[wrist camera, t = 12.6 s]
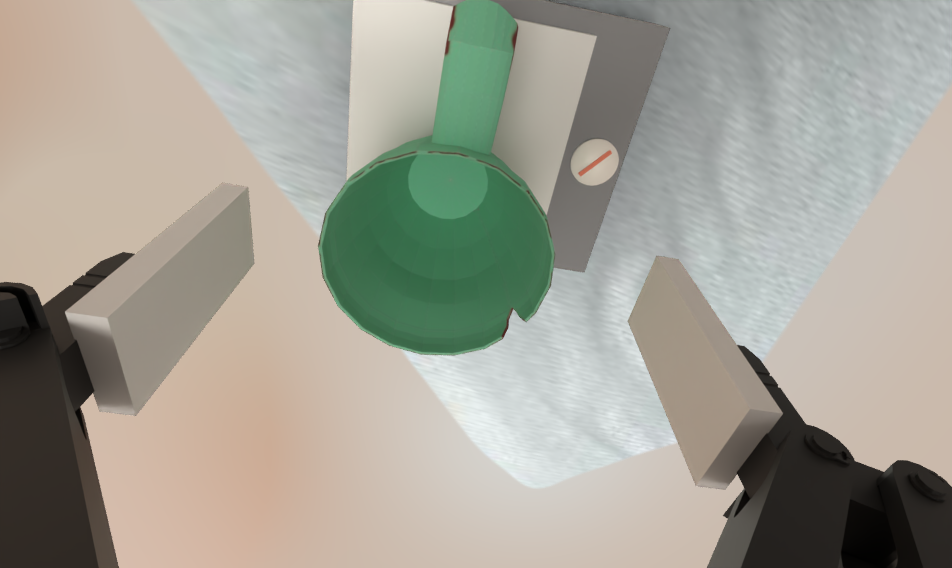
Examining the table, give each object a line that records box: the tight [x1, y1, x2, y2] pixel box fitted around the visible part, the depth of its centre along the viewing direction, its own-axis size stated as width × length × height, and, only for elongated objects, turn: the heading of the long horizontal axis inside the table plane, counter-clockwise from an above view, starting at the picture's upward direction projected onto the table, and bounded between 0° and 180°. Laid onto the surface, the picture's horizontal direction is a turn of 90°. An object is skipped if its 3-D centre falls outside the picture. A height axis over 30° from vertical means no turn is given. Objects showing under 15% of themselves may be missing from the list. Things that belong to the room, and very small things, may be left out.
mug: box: [318, 0, 555, 355], centre depth 23 cm, size 15×10×10 cm
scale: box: [346, 0, 670, 272], centre depth 29 cm, size 16×15×4 cm
